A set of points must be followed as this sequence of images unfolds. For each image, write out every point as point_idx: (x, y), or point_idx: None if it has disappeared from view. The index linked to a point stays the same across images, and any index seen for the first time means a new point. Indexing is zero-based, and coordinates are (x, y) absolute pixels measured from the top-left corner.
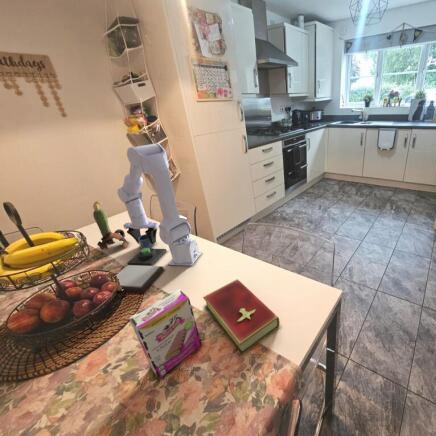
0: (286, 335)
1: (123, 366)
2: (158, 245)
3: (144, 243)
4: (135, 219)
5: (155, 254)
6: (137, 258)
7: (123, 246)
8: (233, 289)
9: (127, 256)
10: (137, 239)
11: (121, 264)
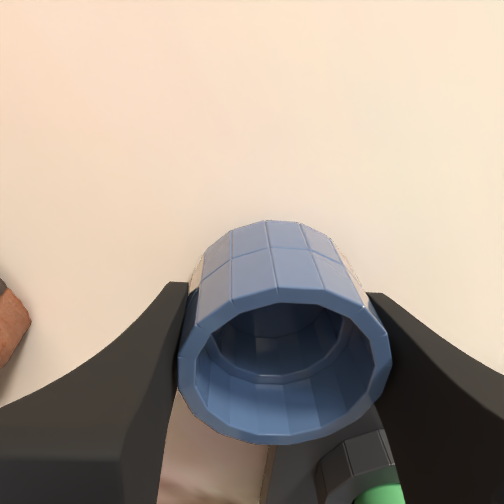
0: None
1: None
2: (387, 278)
3: (298, 400)
4: None
5: None
6: (314, 496)
7: (9, 351)
8: None
9: (171, 425)
10: (176, 385)
11: (199, 492)
